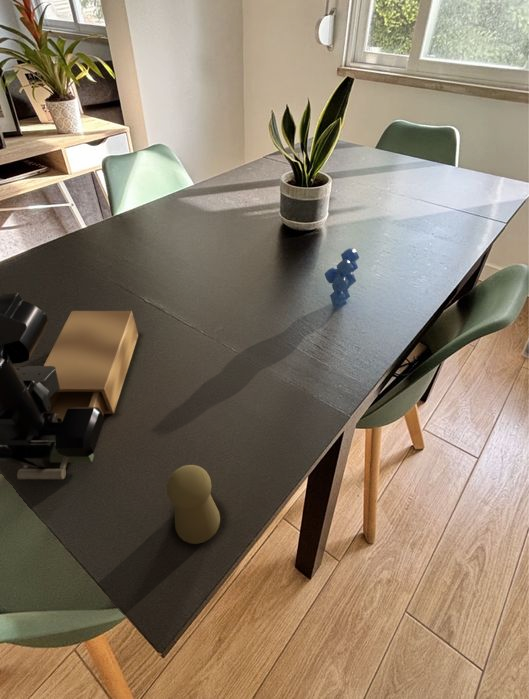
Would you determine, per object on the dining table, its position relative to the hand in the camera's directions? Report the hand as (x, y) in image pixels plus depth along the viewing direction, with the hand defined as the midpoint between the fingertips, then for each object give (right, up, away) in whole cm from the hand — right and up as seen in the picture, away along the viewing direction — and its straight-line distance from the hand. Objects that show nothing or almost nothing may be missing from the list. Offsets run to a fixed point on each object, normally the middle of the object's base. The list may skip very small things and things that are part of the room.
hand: (46, 466), depth 59 cm
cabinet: (0, +12, +18) cm, 22 cm away
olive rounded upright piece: (+21, -7, -2) cm, 23 cm away
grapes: (+46, +27, +33) cm, 63 cm away
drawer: (0, +5, +8) cm, 10 cm away
